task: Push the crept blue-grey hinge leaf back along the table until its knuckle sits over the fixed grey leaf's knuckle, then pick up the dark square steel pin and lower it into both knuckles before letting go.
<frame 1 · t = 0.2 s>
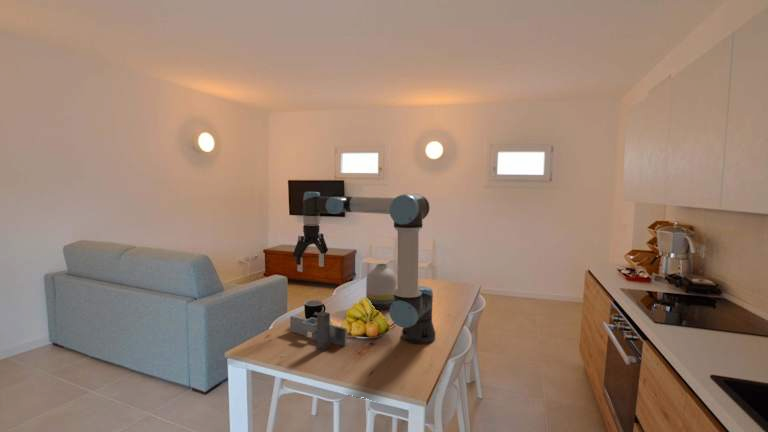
hand: (310, 268, 171), 28 cm above the table, fingers open, 13 cm apart
pin: (323, 348, 149), on the table
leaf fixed: (321, 339, 158), on the table
mug: (316, 322, 178), on the table
vase: (381, 306, 203), on the table
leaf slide: (304, 326, 162), point 4 cm above the table, slide at 5.0 cm
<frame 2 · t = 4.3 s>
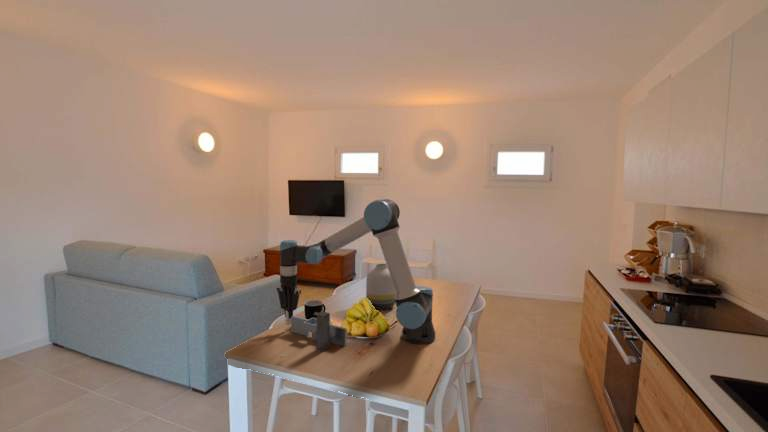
hand: (288, 324, 166), 3 cm above the table, fingers closed
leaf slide: (305, 327, 161), point 4 cm above the table, slide at 4.4 cm, touching gripper
everything else where it was.
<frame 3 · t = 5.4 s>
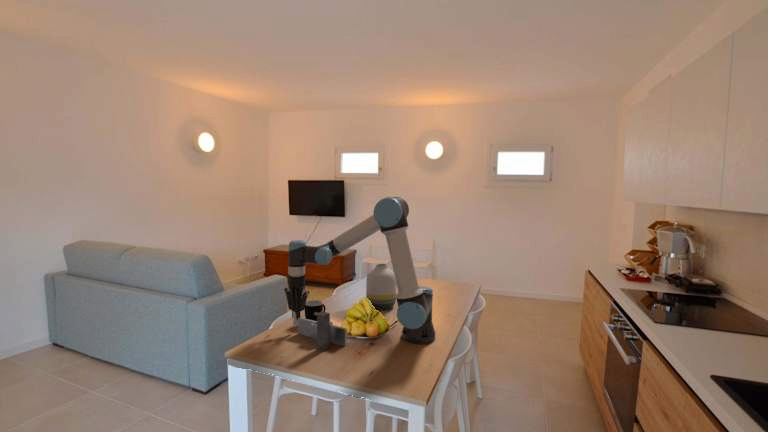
hand: (296, 325, 164), 4 cm above the table, fingers closed
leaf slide: (313, 328, 159), point 4 cm above the table, slide at 0.3 cm, touching gripper, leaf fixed
everything else where it was.
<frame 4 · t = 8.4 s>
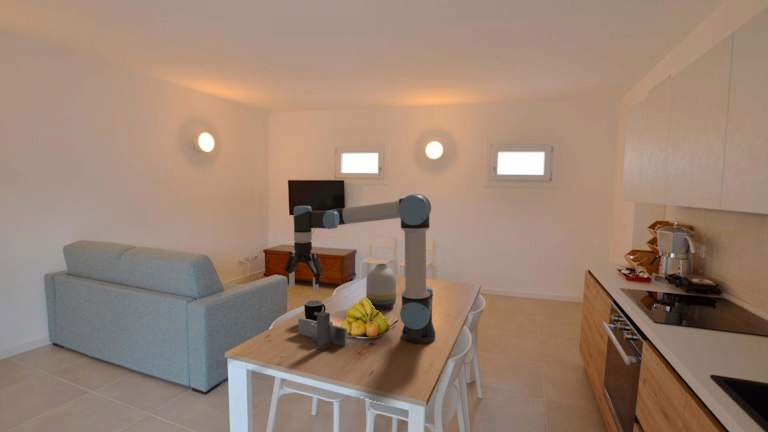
hand: (303, 289, 157), 22 cm above the table, fingers open, 13 cm apart
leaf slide: (313, 328, 159), point 4 cm above the table, slide at 0.3 cm, touching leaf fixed
everything else where it was.
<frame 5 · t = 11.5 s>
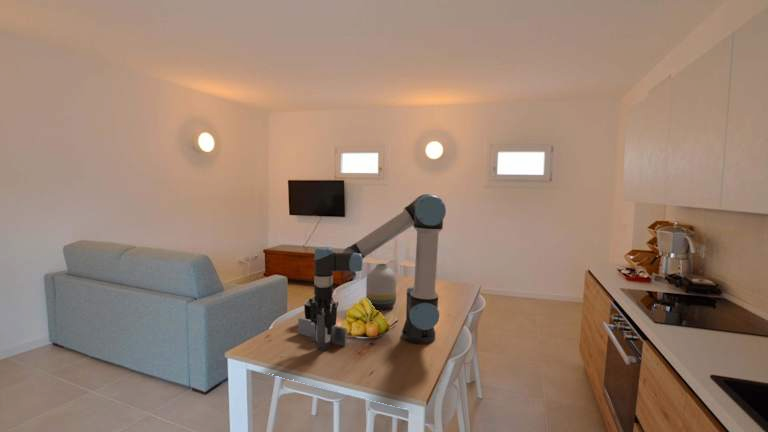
hand: (323, 340, 148), 4 cm above the table, fingers closed on pin, 4 cm apart
pin: (323, 348, 149), on the table, touching gripper
everything else where it was.
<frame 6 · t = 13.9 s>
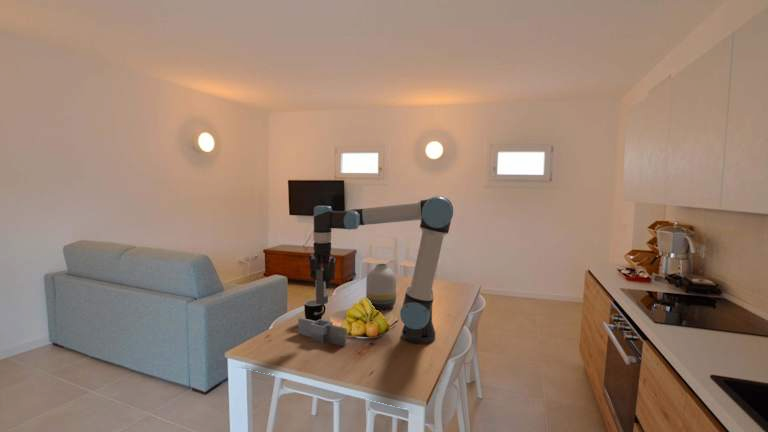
hand: (322, 294, 156), 20 cm above the table, fingers closed on pin, 4 cm apart
pin: (321, 303, 156), point 16 cm above the table, touching gripper
everything else where it was.
when the fingers open (9 cm above the table, at t = 16.5 s): pin drops 5 cm, resting in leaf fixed.
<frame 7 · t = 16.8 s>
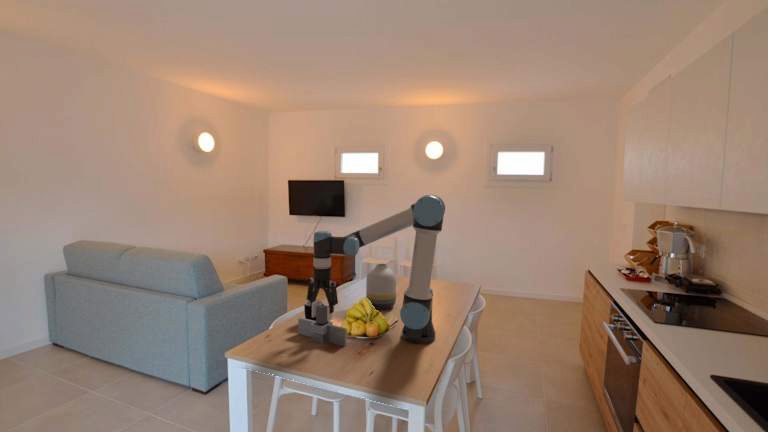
hand: (322, 318, 157), 10 cm above the table, fingers open, 8 cm apart
pin: (321, 339, 157), resting in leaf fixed
everything else where it was.
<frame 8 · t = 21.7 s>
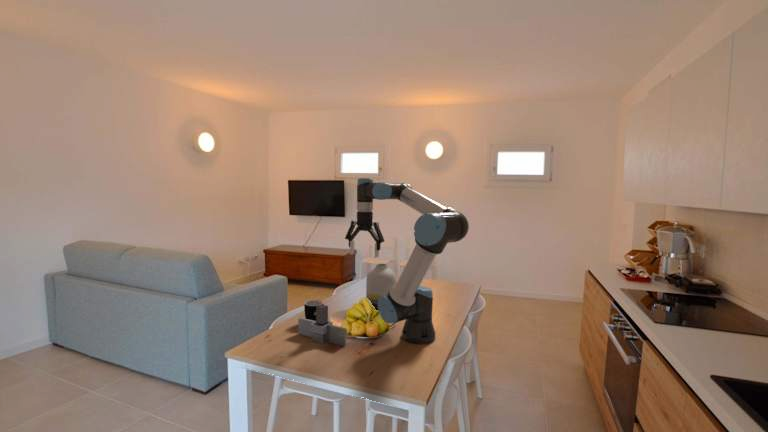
hand: (364, 255, 171), 35 cm above the table, fingers open, 13 cm apart
nothing on the table moved.
at the end: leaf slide slide at 0.3 cm; pin 0.0 cm off-centre on the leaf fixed, point 0.0 cm above the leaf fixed's base; pin tilted 0° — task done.
